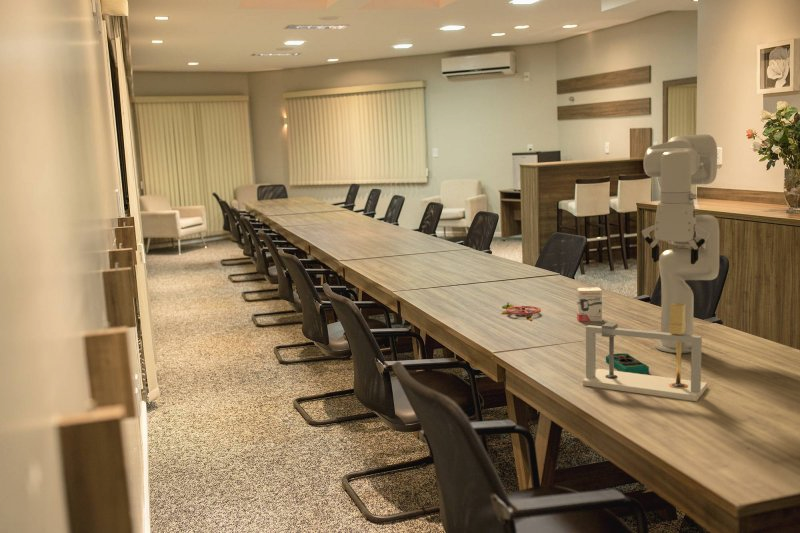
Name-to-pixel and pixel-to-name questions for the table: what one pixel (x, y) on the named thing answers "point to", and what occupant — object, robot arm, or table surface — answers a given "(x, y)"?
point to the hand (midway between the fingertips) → (674, 262)
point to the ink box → (589, 304)
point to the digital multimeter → (628, 364)
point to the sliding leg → (677, 332)
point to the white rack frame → (640, 381)
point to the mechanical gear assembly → (521, 310)
